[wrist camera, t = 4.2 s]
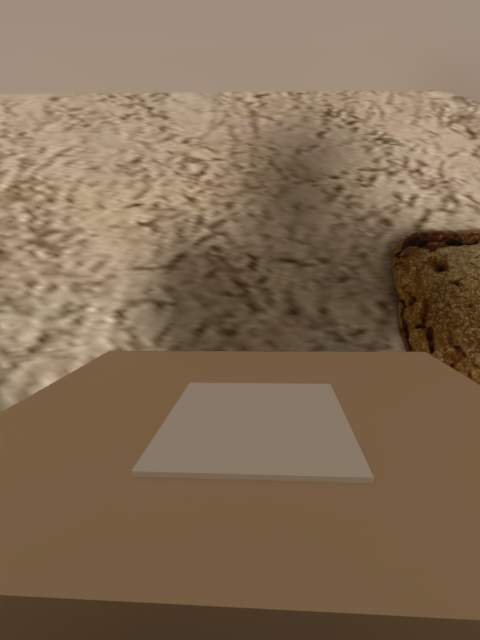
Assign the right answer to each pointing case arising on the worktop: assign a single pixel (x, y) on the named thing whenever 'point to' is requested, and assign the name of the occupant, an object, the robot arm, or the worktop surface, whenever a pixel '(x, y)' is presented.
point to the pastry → (440, 297)
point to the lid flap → (243, 499)
